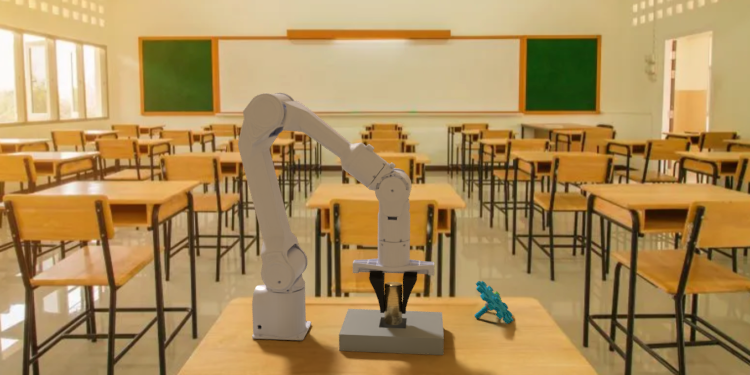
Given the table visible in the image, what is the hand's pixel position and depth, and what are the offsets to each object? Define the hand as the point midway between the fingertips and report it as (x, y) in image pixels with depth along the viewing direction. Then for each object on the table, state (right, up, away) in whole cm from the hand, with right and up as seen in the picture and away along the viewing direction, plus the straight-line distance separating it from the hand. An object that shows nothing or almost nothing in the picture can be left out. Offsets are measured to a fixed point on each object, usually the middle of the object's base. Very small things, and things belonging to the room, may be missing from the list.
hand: (393, 311), depth 106 cm
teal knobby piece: (+20, -4, +10) cm, 23 cm away
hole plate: (0, -5, +1) cm, 5 cm away
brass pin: (0, -2, 0) cm, 2 cm away
